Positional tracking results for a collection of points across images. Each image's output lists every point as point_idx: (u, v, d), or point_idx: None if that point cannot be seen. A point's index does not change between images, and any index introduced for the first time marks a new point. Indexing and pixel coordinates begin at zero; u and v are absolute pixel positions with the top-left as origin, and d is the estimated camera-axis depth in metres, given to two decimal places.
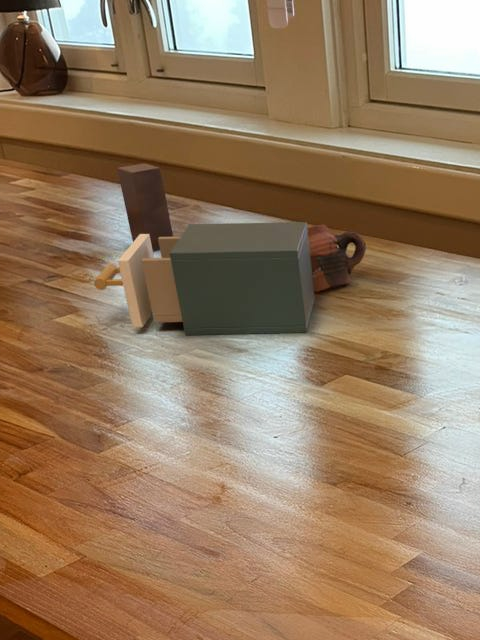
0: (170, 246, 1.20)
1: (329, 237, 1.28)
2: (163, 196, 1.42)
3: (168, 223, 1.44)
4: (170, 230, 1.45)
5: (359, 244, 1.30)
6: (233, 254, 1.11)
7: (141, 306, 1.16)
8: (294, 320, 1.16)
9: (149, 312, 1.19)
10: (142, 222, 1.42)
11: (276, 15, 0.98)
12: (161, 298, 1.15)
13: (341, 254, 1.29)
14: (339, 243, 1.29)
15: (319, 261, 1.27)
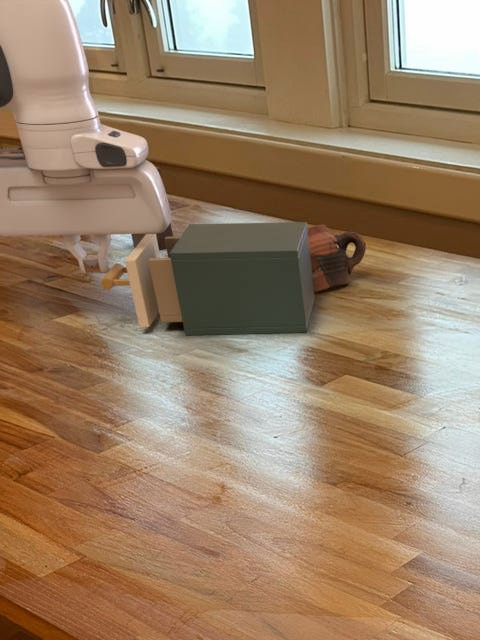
0: None
1: (329, 237, 1.28)
2: None
3: None
4: (170, 230, 1.45)
5: (359, 244, 1.30)
6: (233, 254, 1.11)
7: (148, 306, 1.16)
8: (294, 320, 1.16)
9: (156, 312, 1.19)
10: None
11: (104, 262, 1.16)
12: (168, 298, 1.15)
13: (341, 254, 1.29)
14: (339, 243, 1.29)
15: (319, 261, 1.27)
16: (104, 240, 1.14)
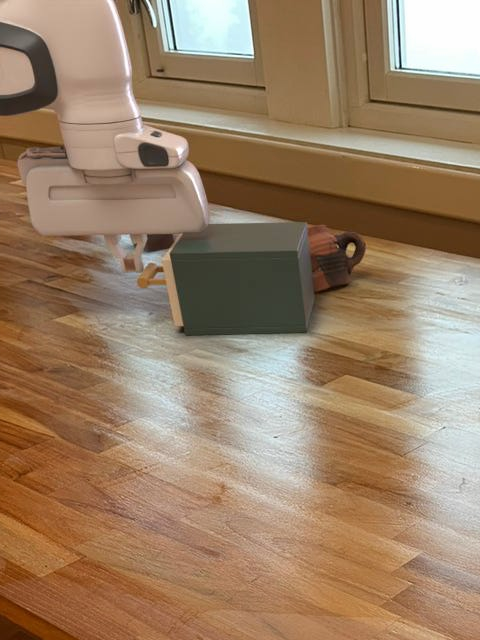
0: None
1: (329, 237, 1.28)
2: None
3: None
4: None
5: (359, 244, 1.30)
6: (233, 254, 1.11)
7: None
8: (294, 320, 1.16)
9: None
10: None
11: (140, 262, 1.17)
12: None
13: (341, 254, 1.29)
14: (339, 243, 1.29)
15: (319, 261, 1.27)
16: (140, 240, 1.14)
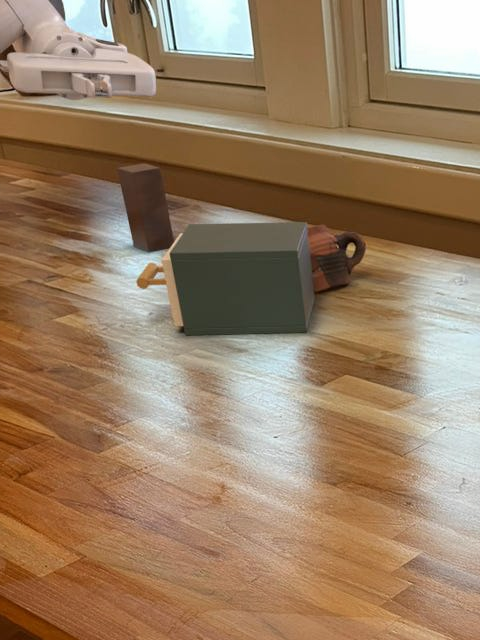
0: None
1: (329, 237, 1.28)
2: (163, 196, 1.42)
3: (168, 223, 1.44)
4: (170, 230, 1.45)
5: (359, 244, 1.30)
6: (233, 254, 1.11)
7: None
8: (294, 320, 1.16)
9: None
10: (142, 222, 1.42)
11: None
12: None
13: (341, 254, 1.29)
14: (339, 243, 1.29)
15: (319, 261, 1.27)
16: (107, 76, 1.39)
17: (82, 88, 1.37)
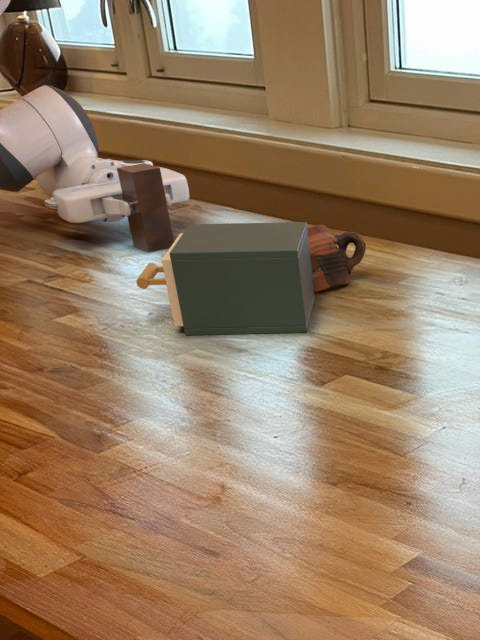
0: None
1: (329, 237, 1.28)
2: (163, 196, 1.42)
3: (168, 223, 1.44)
4: (170, 230, 1.45)
5: (359, 244, 1.30)
6: (233, 254, 1.11)
7: None
8: (294, 320, 1.16)
9: None
10: (142, 222, 1.42)
11: None
12: None
13: (341, 254, 1.29)
14: (339, 243, 1.29)
15: (319, 261, 1.27)
16: None
17: (116, 209, 1.42)
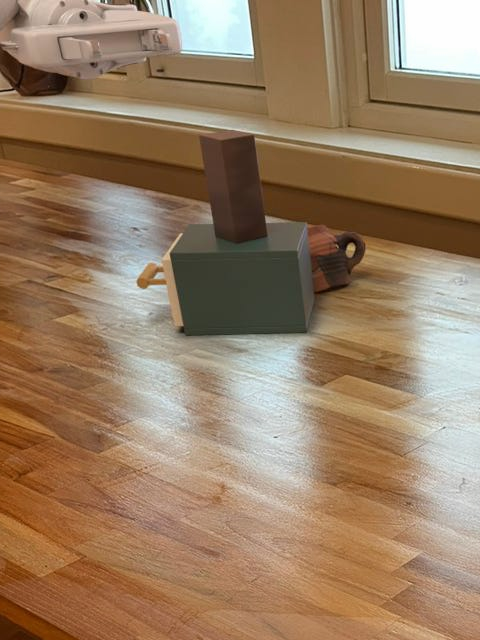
0: None
1: (329, 237, 1.28)
2: (256, 172, 1.11)
3: (261, 206, 1.13)
4: (263, 216, 1.14)
5: (358, 245, 1.30)
6: (233, 254, 1.11)
7: None
8: (294, 320, 1.16)
9: None
10: (229, 205, 1.11)
11: None
12: None
13: (341, 254, 1.29)
14: (339, 243, 1.29)
15: (319, 261, 1.27)
16: None
17: (75, 52, 1.12)
